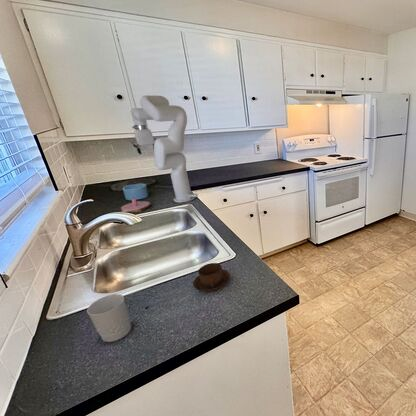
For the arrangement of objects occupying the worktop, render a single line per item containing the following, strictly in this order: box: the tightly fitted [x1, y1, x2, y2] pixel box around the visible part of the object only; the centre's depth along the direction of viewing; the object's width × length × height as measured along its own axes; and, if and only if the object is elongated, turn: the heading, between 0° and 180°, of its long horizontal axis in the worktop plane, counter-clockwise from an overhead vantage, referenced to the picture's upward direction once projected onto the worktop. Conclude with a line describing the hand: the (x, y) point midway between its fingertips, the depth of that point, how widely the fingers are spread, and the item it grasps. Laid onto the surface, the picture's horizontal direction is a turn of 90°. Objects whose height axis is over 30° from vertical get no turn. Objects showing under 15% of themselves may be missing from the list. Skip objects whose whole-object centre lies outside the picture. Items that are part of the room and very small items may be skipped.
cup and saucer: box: [192, 262, 231, 292], centre depth 94 cm, size 12×12×6 cm
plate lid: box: [120, 198, 151, 211], centre depth 164 cm, size 15×15×6 cm
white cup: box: [86, 293, 132, 343], centre depth 73 cm, size 8×8×10 cm
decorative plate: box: [110, 178, 157, 192], centre depth 213 cm, size 30×2×30 cm
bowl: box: [122, 184, 149, 201], centre depth 185 cm, size 14×14×8 cm
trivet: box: [121, 203, 151, 213], centre depth 165 cm, size 11×11×1 cm
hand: (148, 152), depth 188 cm, fingers open, 9 cm apart
